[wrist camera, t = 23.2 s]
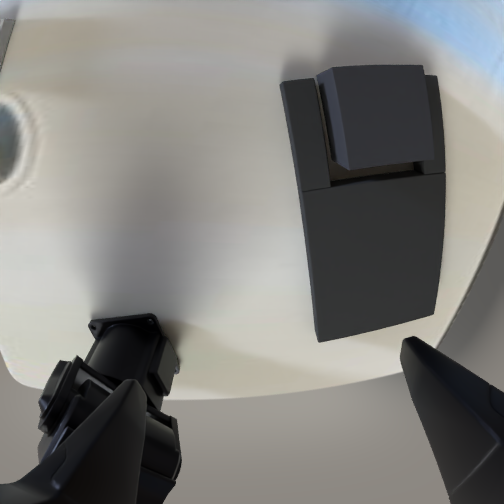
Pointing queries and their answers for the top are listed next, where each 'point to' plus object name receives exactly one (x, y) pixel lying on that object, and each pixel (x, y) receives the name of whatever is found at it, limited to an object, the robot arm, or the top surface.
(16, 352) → the top surface
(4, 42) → the light grey notched plate
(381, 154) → the dark grey rectangular block
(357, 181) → the base pad
